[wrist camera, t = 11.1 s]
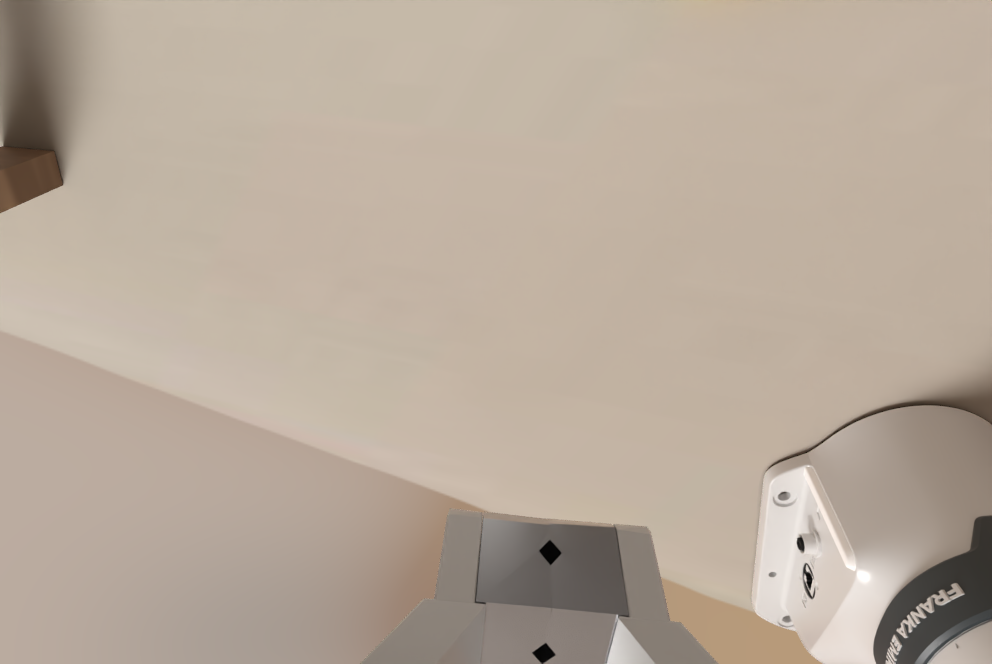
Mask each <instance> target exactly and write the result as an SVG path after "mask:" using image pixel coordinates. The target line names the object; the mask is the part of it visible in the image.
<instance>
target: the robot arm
mask: <svg viewBox="0 0 992 664" xmlns="http://www.w3.org/2000/svg"><path fill="white" fill-rule="evenodd" d="M781 492H784V493H781ZM482 514H483V513H482V512H475V511H467V510H459V509H450V510H449V513H448V515H447V521H446V527H445V533H444V540H443V546H442V553H441V559H440V565H439V571H438V578H437V584H436V591H435V597H434V599H423V600H422V601H421V602H420V603H419V604H418V605H417V606H416V607H415V608H414V609H413V610H412V611H411V612H410V613H409V614H408V615H407V616H406V618H404V619H403V620H402V621H401V622H400V623H399V624H398V625H397V626H396V627H395V628H394V629H393V630H392V631H391V633H390V634H389V635H388V636H387V637H386V638H385V639H384V640H383V641H382V642H381V643H380V644H379V645H378V646H377V647H376V648H375V649H374V650H373V651H372V652H371V653H370V654H369V655H368V656H367V657H366V658H365V659H364V660H363V661H362V662H361V663H360V664H718V663H717V662H716V661H715V660H714V658H712V656H711V655H710V654H709V653H708V652H707V651H706V650H705V649H704V647H703V646H702V645H701V644H700V643H699V642H698V641H697V640H696V639H695V638H694V637H693V635H692V634H691V633H690V632H689V631H688V630H687V629H686V628H685V627H684V625H683V624H682V623H680V622H672V621H670V618H669V613H668V608H667V604H666V599H665V595H664V590H663V586H662V581H661V577H660V572H659V568H658V563H657V558H656V554H655V549H654V545H653V540H652V536H651V532H650V531H649V529H648V528H647V527H644V526H631V525H619V524H614V525H612V524H606V523H594V522H582V521H570V520H558V519H542V518H533V517H525V516H516V515H508V514H499V513H491V512H484V514H483V515H482ZM482 516H483V523H482ZM481 529H482V533H481ZM480 541H481V544H480ZM479 553H480V555H479ZM751 601H752V606H753V608H754V610H755V612H756V614H757V615H759V616H760V617H762V618H763V619H765V620H767V621H768V622H771V623H772V624H775V625H777V626H780V627H783V628H786V629H789V630H793V631H797V634H798V635H799V638H800V639H801V641H802V643H803V645H804V647H805V648H806V650H807V651H808V652H809V653H810V654H811V655H812V656H813V657H814V658H816V659H817V660H818V661H820V662H822V663H823V664H992V425H991V424H990V423H989V422H987V421H986V420H984V419H983V418H981V417H979V416H977V415H975V414H973V413H970V412H967V411H964V410H961V409H957V408H952V407H945V406H933V405H923V406H910V407H903V408H897V409H892V410H888V411H885V412H881V413H878V414H875V415H872V416H869V417H866V418H864V419H862V420H859V421H857V422H855V423H853V424H851V425H849V426H847V427H846V428H844V429H842V430H840V431H839V432H837V433H836V434H834V435H833V436H831V437H830V438H829V439H827V440H826V441H825V442H823V443H822V444H821V445H819V446H818V447H816V448H815V449H813V450H811V451H810V452H808V453H805V454H802V455H799V456H796V457H793V458H790V459H788V460H785V461H782V462H780V463H778V464H776V465H774V466H772V467H771V468H770V469H768V470H767V472H766V473H765V475H764V480H763V490H762V500H761V509H760V519H759V529H758V539H757V548H756V558H755V568H754V577H753V587H752V598H751Z"/></svg>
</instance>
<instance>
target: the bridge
mask: <svg viewBox="0 0 992 664" xmlns="http://www.w3.org/2000/svg"><path fill="white" fill-rule="evenodd" d="M62 185H63V183H62V179H61V176H60V172H59V168H58V164H57V160H56V156H55V152H54V151H48V150H37V149H26V148H14V147H3V146H2V147H0V213H1V212H4V211H6V210H8V209H10V208H13V207H15V206H17V205H19V204H22V203H24V202H26V201H28V200H31V199H33V198H35V197H37V196H40V195H42V194H44V193H46V192H49V191H51V190H53V189H55V188H58V187H60V186H62Z"/></svg>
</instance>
